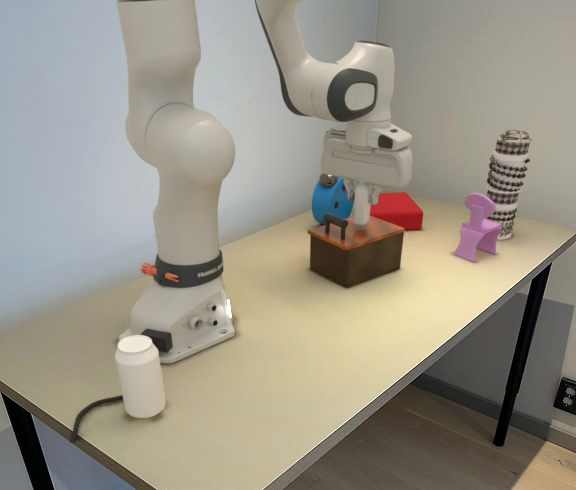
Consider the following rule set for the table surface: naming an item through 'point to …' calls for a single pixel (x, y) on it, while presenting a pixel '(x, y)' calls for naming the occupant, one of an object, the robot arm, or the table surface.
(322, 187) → the alarm clock
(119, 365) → the beverage can
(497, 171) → the decorative candle
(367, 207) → the eye dropper bottle
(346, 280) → the chest
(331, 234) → the lid
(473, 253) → the toy chair
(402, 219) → the red device housing
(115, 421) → the table surface
